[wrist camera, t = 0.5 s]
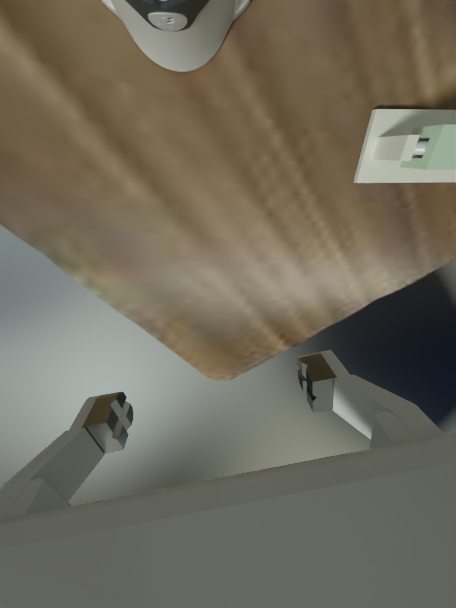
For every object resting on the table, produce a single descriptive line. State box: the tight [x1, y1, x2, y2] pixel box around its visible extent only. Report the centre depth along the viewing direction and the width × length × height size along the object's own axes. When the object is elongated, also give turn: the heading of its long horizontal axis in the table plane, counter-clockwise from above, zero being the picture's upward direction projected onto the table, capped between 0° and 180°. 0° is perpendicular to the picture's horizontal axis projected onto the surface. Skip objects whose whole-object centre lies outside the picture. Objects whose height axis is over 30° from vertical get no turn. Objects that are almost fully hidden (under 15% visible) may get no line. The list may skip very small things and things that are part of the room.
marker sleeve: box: [400, 124, 456, 170], centre depth 33 cm, size 5×5×5 cm
